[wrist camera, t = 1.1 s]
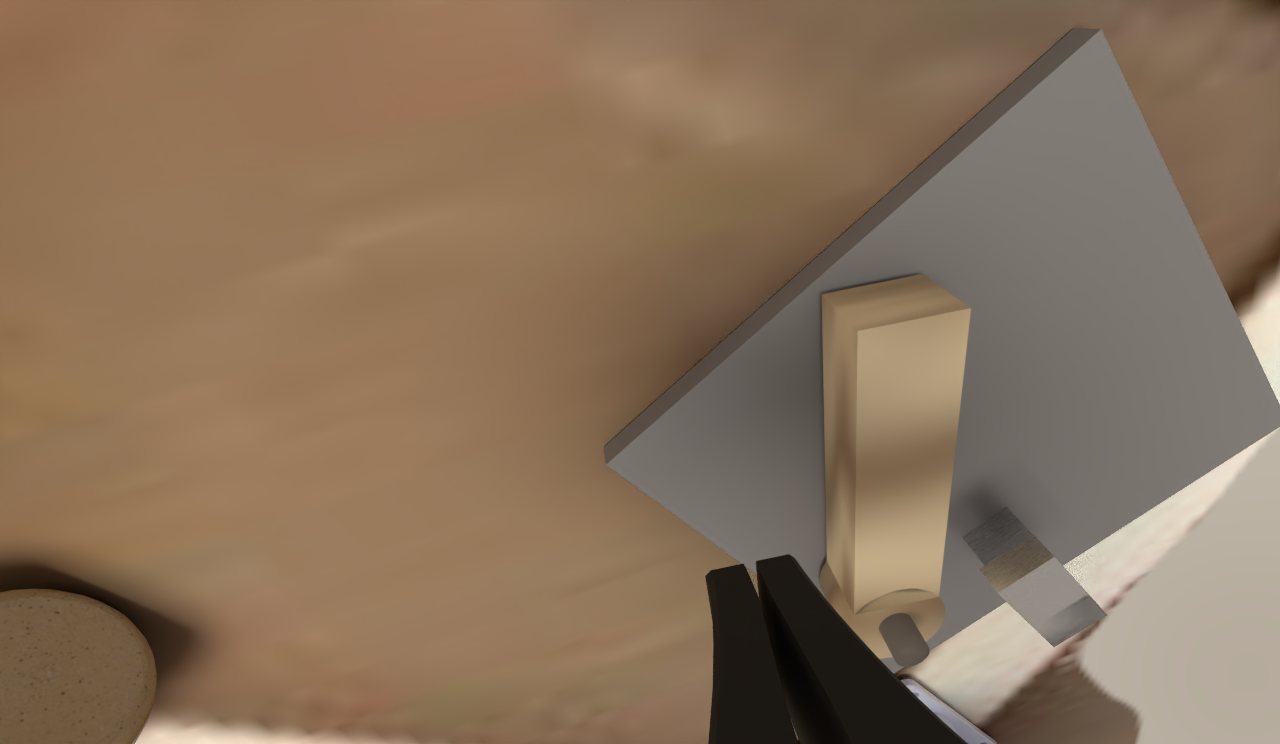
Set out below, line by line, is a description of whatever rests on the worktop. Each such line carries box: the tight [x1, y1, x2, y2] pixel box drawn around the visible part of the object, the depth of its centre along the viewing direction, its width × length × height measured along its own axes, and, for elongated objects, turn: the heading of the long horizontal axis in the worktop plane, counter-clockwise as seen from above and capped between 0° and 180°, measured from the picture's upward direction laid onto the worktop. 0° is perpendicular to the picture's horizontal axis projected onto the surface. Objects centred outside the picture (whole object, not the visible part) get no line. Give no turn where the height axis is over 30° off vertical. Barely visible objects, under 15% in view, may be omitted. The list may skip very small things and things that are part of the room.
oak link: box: [820, 274, 971, 666], centre depth 20 cm, size 14×4×4 cm, turn 9°
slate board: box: [604, 29, 1280, 674], centre depth 23 cm, size 18×18×1 cm
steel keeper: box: [962, 507, 1107, 647], centre depth 22 cm, size 4×2×4 cm, turn 44°
